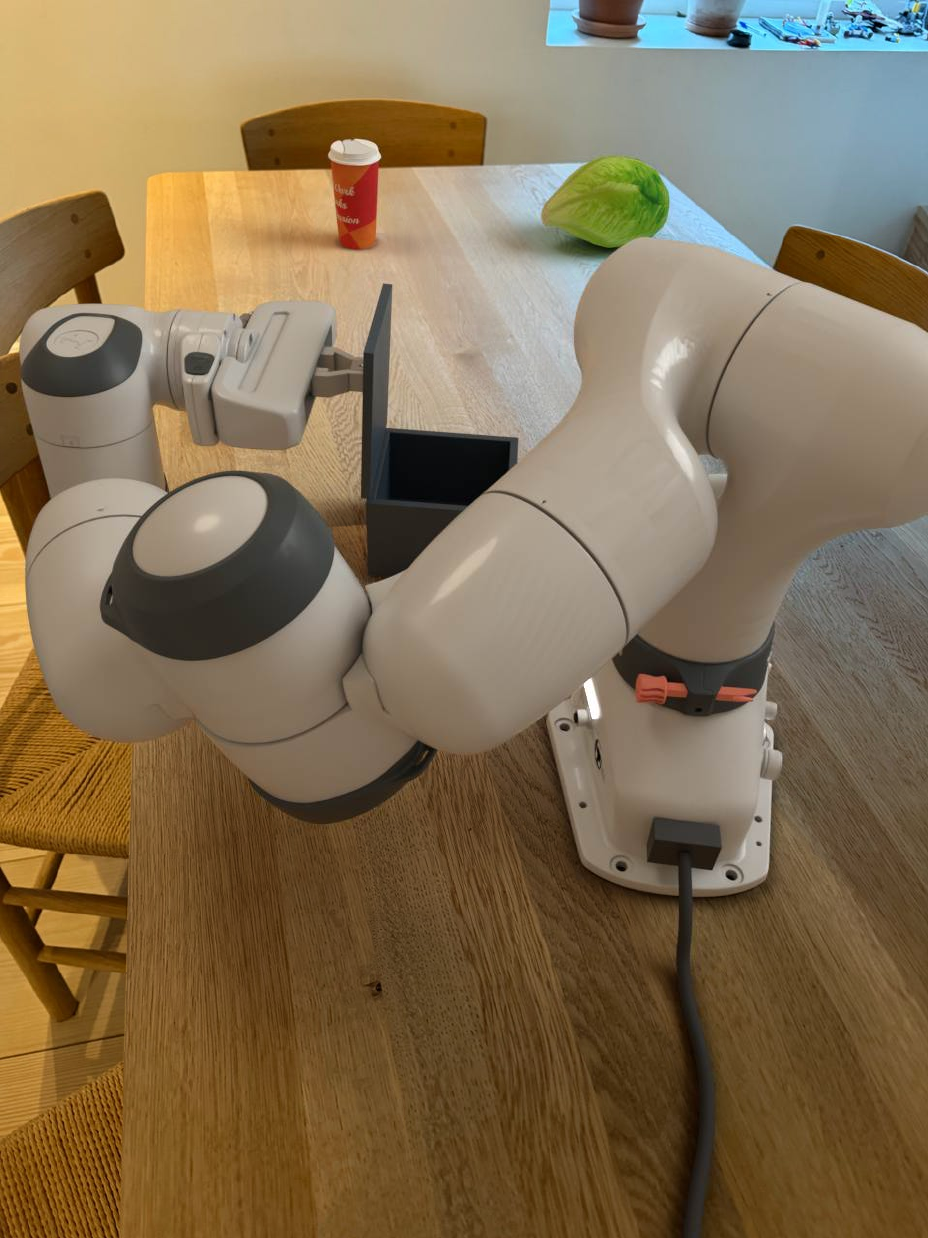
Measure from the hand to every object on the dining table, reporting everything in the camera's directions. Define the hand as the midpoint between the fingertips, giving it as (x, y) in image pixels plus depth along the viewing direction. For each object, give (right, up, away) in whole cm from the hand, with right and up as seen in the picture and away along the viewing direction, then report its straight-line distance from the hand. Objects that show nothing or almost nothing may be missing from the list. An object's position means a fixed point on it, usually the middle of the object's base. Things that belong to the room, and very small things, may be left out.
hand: (371, 375), depth 85 cm
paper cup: (-8, +37, +64) cm, 74 cm away
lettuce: (+30, +38, +68) cm, 83 cm away
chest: (+6, -14, +12) cm, 19 cm away
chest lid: (+1, -1, +1) cm, 2 cm away
